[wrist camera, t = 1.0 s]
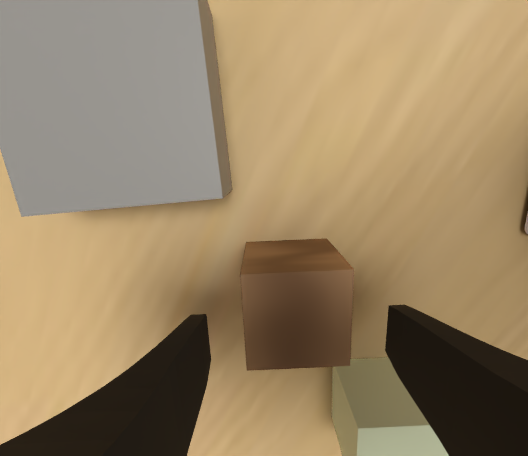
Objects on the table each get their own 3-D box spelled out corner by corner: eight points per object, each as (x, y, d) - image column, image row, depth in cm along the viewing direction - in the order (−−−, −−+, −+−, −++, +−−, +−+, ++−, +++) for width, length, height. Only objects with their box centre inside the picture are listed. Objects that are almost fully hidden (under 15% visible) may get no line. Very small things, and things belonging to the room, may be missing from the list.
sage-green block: (403, 355, 17) (454, 423, 12) (397, 412, 18) (442, 494, 13) (332, 358, 17) (358, 428, 12) (331, 415, 18) (354, 498, 13)
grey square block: (213, 18, 12) (191, -49, 8) (233, 189, 14) (222, 198, 10) (44, 34, 12) (-55, -25, 8) (86, 202, 14) (21, 216, 10)
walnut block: (326, 238, 15) (354, 269, 10) (325, 309, 16) (350, 365, 11) (246, 241, 15) (240, 274, 10) (250, 313, 16) (246, 370, 11)
